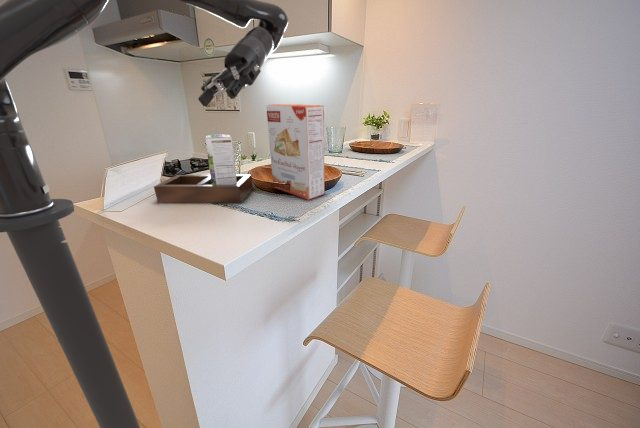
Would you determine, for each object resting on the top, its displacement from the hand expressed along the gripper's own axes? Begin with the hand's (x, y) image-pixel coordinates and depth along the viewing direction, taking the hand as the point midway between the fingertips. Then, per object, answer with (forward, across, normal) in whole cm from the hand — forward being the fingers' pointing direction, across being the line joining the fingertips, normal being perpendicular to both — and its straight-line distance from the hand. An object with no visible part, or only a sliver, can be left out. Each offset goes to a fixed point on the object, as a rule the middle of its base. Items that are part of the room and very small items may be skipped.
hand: (215, 99), depth 61 cm
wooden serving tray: (+13, -9, +16) cm, 23 cm away
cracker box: (+5, +9, +26) cm, 28 cm away
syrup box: (+12, -5, +18) cm, 22 cm away
